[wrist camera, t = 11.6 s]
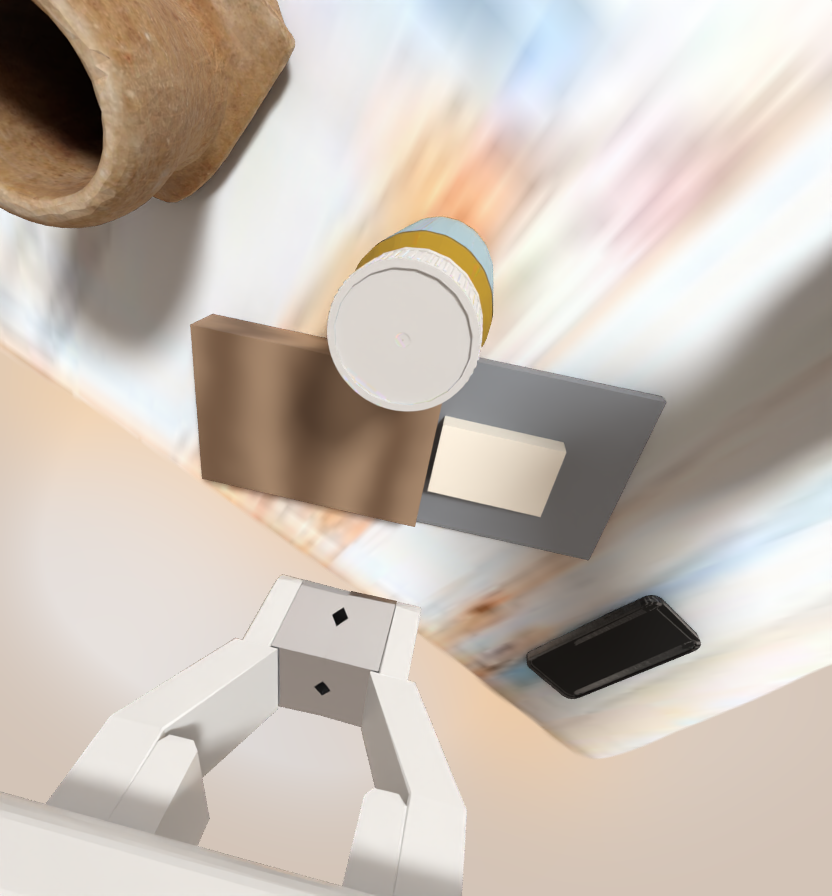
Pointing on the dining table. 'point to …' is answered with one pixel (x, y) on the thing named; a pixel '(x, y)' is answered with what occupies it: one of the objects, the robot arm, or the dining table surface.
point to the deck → (302, 424)
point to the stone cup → (126, 99)
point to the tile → (495, 466)
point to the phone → (614, 648)
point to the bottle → (414, 315)
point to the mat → (561, 419)
